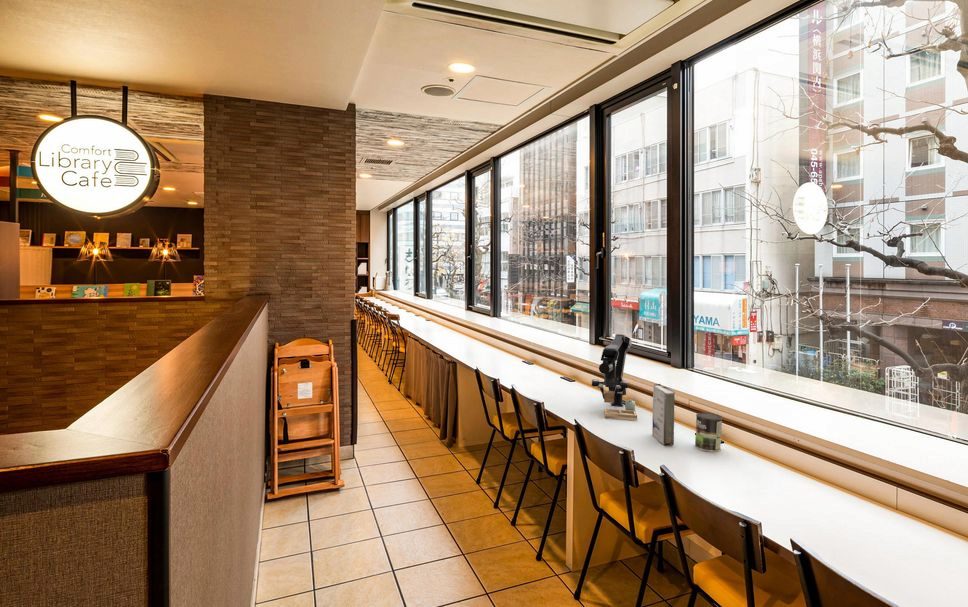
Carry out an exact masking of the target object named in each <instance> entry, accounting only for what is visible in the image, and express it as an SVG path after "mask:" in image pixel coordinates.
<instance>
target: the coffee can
mask: <svg viewBox="0 0 968 607" xmlns="http://www.w3.org/2000/svg"><path fill="white" fill-rule="evenodd" d="M722 424H723V416H721V415H719V414H718V413H712V412H698V413H696V421H695V442H694V447H695V448H696V449H697V450H699V451H702V452H709V453H717V452H721V446H722V445H721V442H722V427H723V426H722Z"/></svg>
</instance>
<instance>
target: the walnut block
mask: <svg viewBox="0 0 968 607" xmlns="http://www.w3.org/2000/svg"><path fill="white" fill-rule="evenodd" d="M603 402H604V403H607V404H608V403H609V404H611V403H614V392H612V391H609V390H604V399H603Z"/></svg>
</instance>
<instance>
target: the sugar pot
mask: <svg viewBox="0 0 968 607" xmlns="http://www.w3.org/2000/svg"><path fill="white" fill-rule="evenodd" d="M624 402H625V403H624V406H625V408H624V410H628V411H636V401H635V400H633V399H627V400H625V401H624Z"/></svg>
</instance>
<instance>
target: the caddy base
mask: <svg viewBox="0 0 968 607" xmlns="http://www.w3.org/2000/svg"><path fill="white" fill-rule="evenodd" d="M603 410H604V411H603V413H604V419H610V418H612V419H613V420H624V419H625V420H626V421H627V420H629V421H638V413H637V411H636V410H635V411H628V410H625V409H611V408H604V409H603Z"/></svg>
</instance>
